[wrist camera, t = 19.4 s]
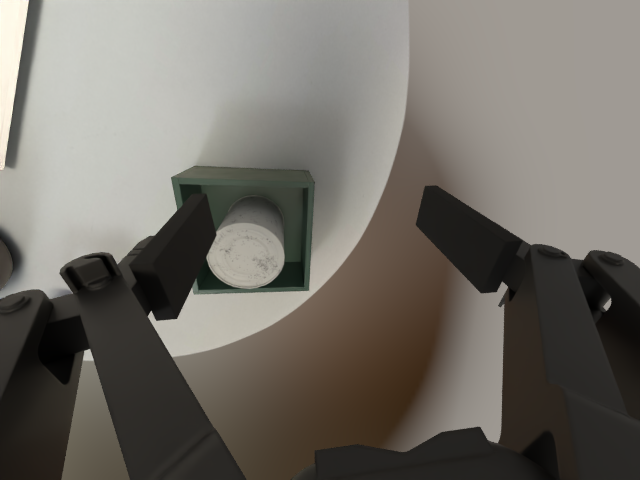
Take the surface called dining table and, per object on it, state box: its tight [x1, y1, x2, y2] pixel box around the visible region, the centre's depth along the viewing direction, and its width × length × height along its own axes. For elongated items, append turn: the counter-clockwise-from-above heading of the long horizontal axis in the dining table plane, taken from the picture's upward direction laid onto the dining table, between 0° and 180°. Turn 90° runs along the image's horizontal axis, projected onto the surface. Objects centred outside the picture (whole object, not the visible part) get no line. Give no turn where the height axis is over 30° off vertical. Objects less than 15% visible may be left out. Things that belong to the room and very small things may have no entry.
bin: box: [171, 166, 315, 294], centre depth 39 cm, size 18×18×9 cm
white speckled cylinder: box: [207, 195, 285, 289], centre depth 36 cm, size 10×10×12 cm
